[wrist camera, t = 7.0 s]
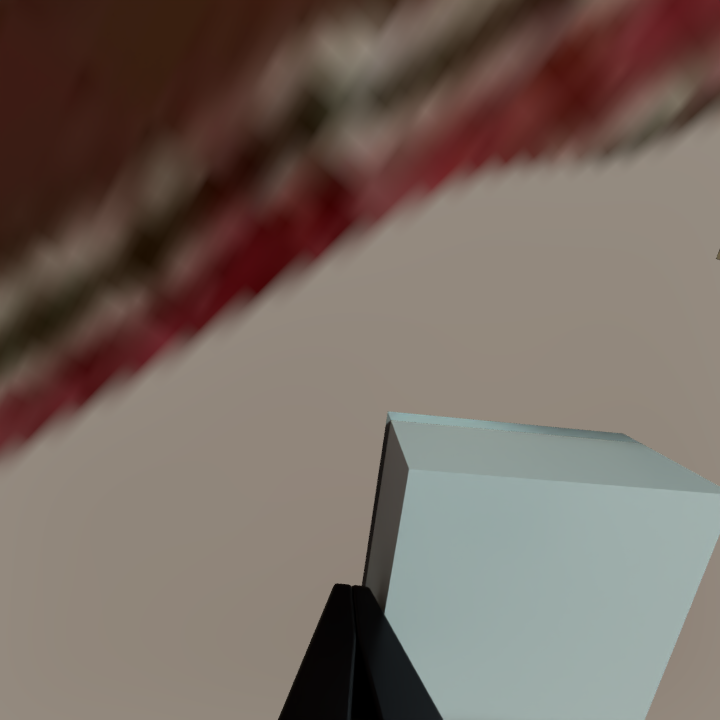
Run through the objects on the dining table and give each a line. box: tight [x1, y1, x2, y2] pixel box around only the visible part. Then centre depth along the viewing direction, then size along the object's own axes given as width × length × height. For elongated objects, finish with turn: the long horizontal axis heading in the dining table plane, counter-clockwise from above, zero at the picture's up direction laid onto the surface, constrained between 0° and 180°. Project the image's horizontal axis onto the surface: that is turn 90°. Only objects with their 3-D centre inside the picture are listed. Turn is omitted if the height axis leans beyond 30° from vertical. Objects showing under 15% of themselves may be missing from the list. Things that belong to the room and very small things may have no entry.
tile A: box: [362, 411, 720, 720], centre depth 9 cm, size 7×7×3 cm
